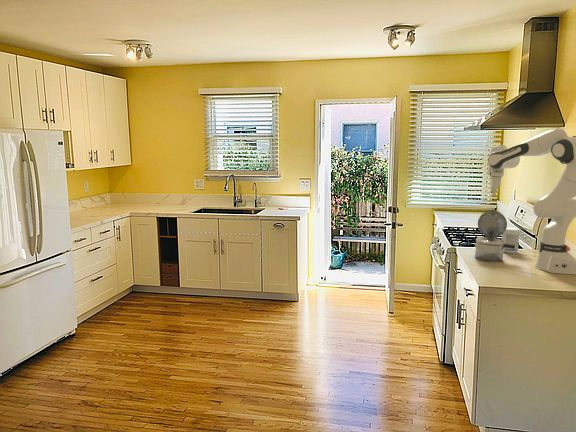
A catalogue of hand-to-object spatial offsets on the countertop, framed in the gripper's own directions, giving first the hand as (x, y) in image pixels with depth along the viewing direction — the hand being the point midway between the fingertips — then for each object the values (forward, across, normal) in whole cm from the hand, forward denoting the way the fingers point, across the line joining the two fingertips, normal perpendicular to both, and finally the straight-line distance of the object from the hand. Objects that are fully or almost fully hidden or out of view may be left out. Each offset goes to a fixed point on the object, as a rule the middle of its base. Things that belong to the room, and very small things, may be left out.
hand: (493, 194), depth 284 cm
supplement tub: (+36, -2, +13) cm, 38 cm away
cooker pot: (+35, +22, +2) cm, 41 cm away
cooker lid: (+16, +12, 0) cm, 20 cm away
